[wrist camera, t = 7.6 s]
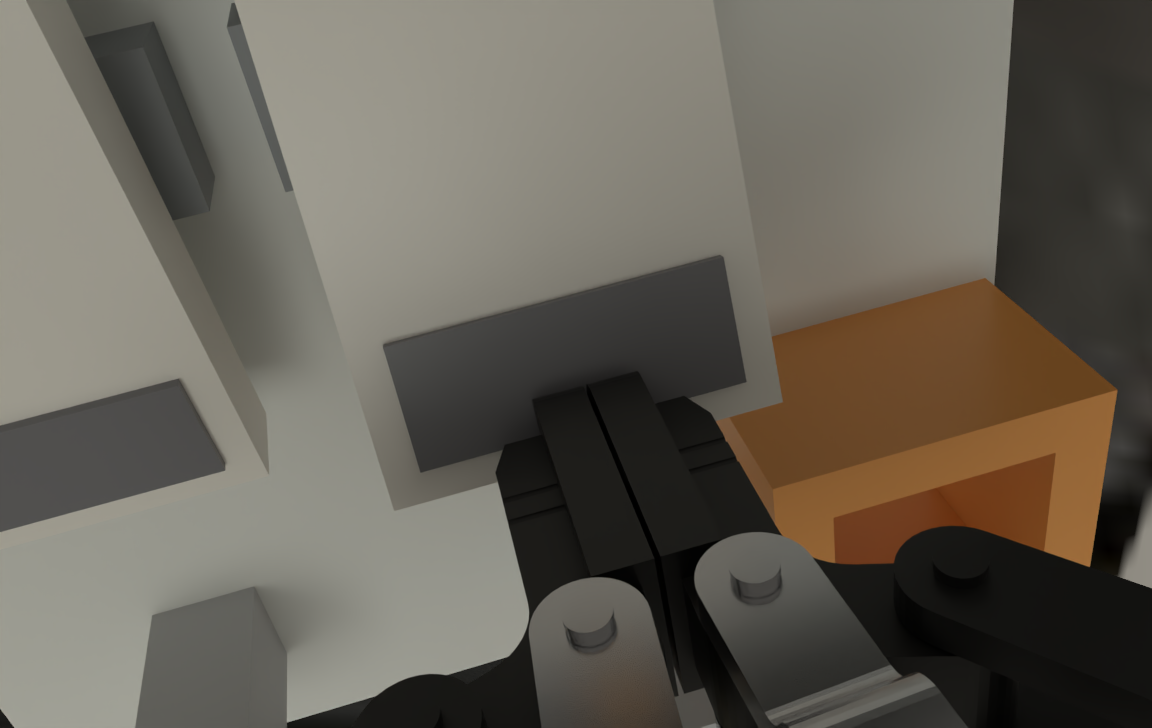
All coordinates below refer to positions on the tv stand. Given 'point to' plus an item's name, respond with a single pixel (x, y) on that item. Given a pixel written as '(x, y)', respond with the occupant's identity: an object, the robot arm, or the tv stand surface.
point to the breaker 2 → (516, 212)
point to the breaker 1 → (99, 309)
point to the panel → (331, 404)
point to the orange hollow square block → (929, 430)
